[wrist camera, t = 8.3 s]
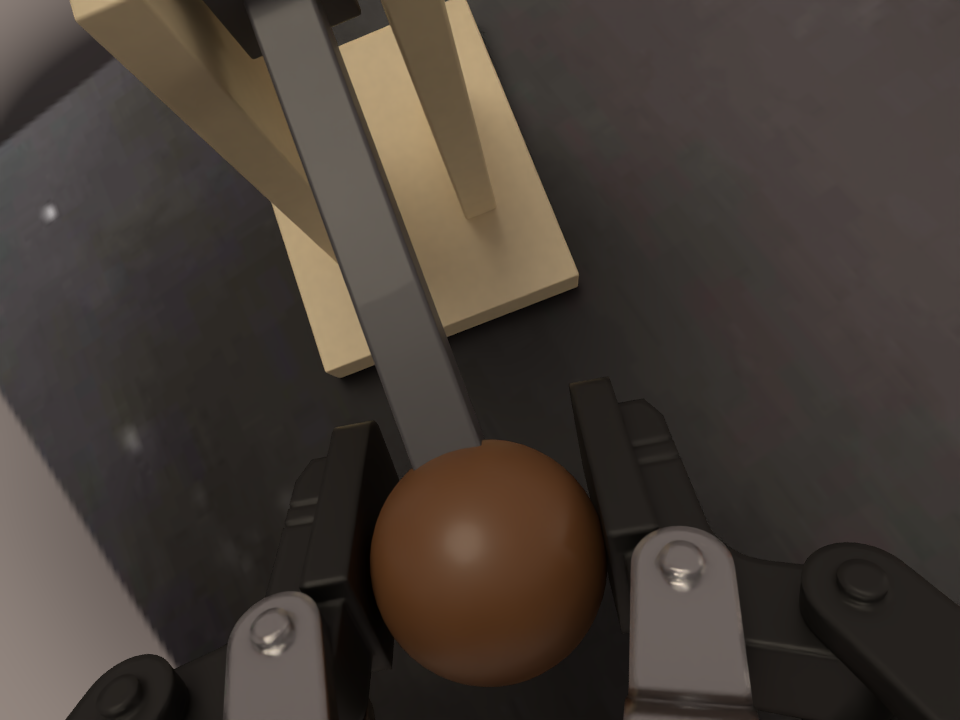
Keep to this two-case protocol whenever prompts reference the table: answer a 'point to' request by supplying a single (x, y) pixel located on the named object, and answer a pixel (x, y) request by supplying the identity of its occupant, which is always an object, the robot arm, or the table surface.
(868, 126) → the table surface
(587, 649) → the table surface
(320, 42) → the lever
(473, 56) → the switch bracket
